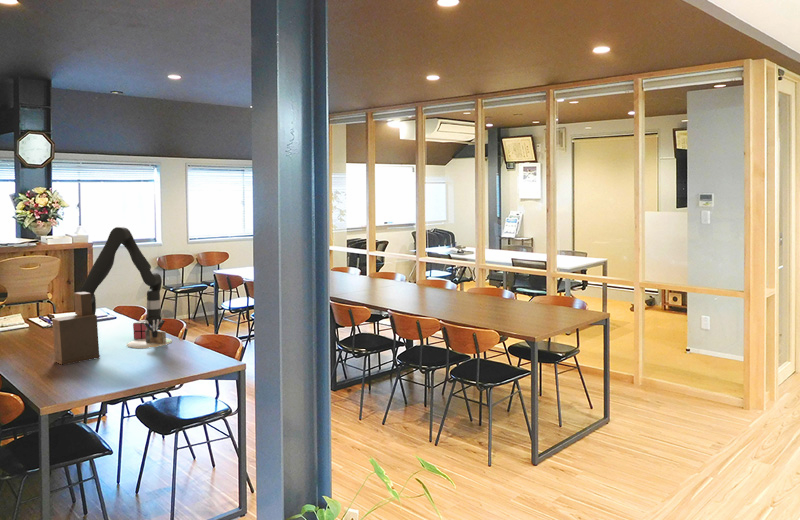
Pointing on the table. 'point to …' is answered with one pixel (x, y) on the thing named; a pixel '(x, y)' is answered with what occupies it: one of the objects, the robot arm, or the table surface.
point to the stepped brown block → (76, 333)
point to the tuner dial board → (143, 344)
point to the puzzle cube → (139, 329)
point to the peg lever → (159, 339)
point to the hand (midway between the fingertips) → (154, 337)
